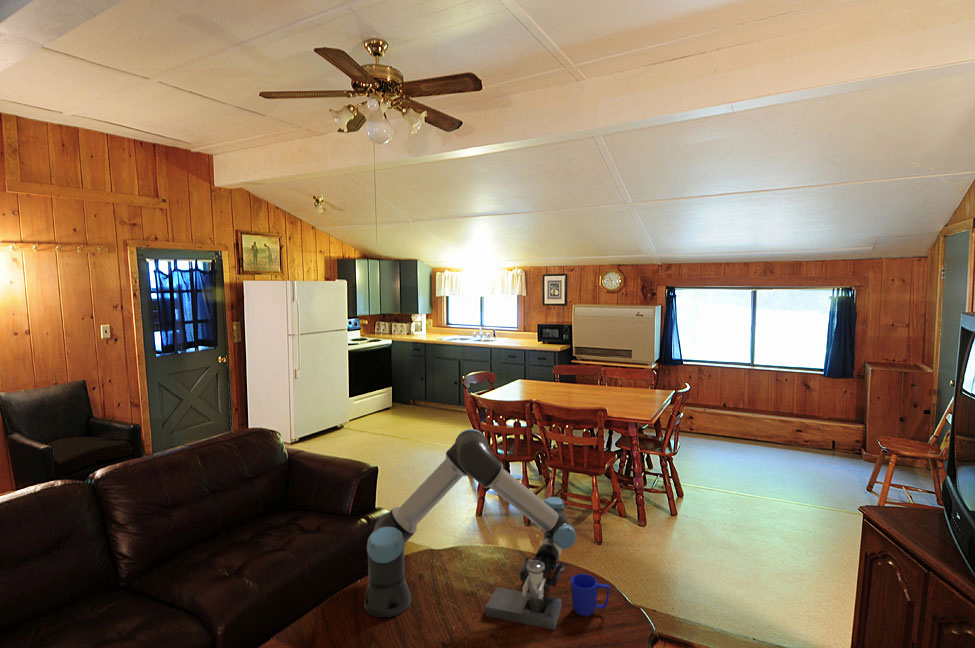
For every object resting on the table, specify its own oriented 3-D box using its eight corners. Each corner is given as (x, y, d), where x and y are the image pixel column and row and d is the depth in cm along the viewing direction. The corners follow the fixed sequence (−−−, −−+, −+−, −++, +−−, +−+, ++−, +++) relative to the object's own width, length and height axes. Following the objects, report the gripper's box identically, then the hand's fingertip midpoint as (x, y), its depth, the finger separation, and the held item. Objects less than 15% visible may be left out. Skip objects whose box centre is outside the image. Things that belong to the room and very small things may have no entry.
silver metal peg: (525, 611, 158) (524, 568, 157) (530, 600, 164) (529, 559, 163) (543, 614, 156) (542, 571, 155) (547, 603, 162) (546, 561, 161)
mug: (610, 622, 156) (610, 591, 155) (570, 617, 158) (570, 587, 157) (609, 605, 164) (609, 576, 163) (571, 601, 166) (571, 572, 165)
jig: (485, 615, 160) (485, 606, 160) (496, 595, 170) (496, 586, 170) (554, 630, 153) (554, 620, 152) (561, 608, 163) (561, 599, 163)
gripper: (573, 568, 174) (560, 610, 152) (524, 560, 179) (504, 599, 157) (573, 547, 173) (559, 586, 151) (524, 540, 179) (504, 576, 157)
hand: (531, 593), depth 154 cm, fingers closed on silver metal peg, 4 cm apart
